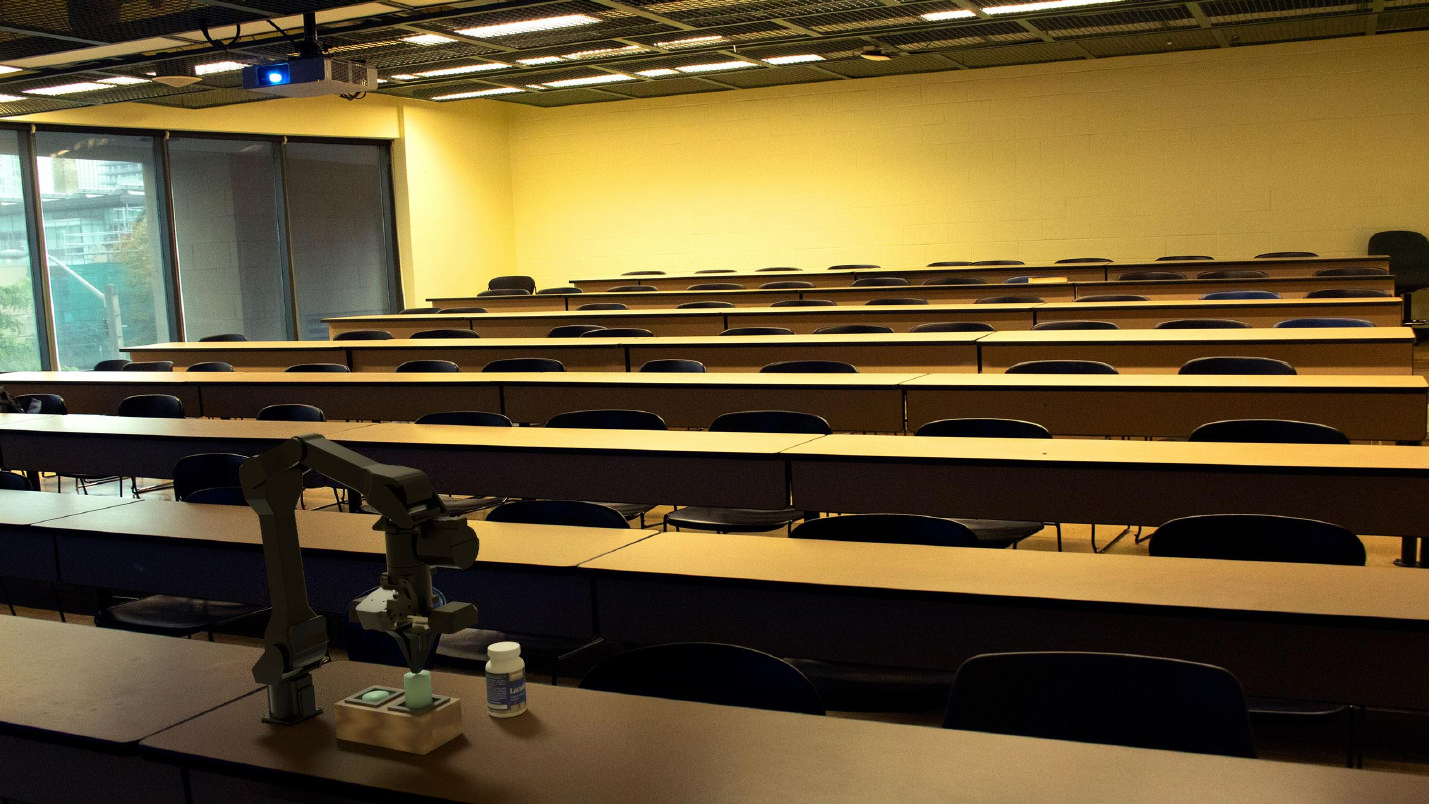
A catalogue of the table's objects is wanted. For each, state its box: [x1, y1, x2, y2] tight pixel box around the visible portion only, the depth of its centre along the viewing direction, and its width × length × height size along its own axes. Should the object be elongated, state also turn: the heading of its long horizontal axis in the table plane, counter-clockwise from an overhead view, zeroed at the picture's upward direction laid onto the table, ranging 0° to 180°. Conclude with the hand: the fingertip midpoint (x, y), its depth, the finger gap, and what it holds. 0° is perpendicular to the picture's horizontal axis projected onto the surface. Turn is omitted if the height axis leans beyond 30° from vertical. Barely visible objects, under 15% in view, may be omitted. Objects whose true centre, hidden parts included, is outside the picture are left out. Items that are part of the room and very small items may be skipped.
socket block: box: [333, 684, 464, 756], centre depth 159 cm, size 16×8×5 cm, turn 63°
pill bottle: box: [485, 641, 528, 719], centre depth 166 cm, size 6×6×10 cm
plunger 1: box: [362, 691, 389, 702], centre depth 161 cm, size 4×4×5 cm
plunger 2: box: [403, 669, 433, 710], centre depth 157 cm, size 4×4×5 cm
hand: (416, 673), depth 156 cm, fingers closed
